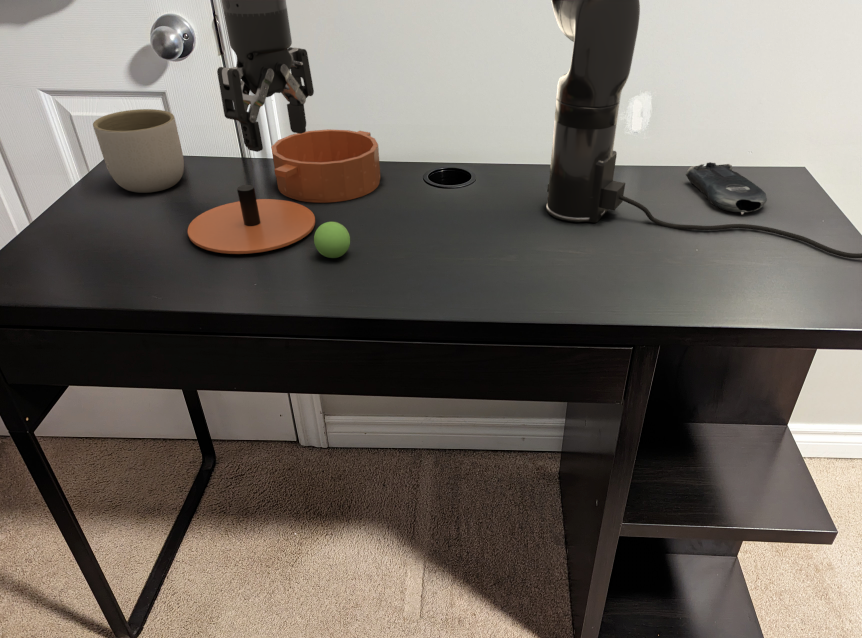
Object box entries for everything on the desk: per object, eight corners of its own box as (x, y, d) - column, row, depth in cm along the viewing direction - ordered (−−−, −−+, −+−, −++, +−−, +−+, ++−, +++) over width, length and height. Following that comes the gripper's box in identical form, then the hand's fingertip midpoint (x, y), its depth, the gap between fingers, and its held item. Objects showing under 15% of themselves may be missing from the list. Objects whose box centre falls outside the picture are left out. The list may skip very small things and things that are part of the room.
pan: (407, 171, 124) (405, 135, 120) (328, 216, 108) (323, 176, 104) (330, 155, 130) (326, 120, 127) (245, 195, 114) (237, 156, 110)
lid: (340, 220, 107) (336, 179, 103) (257, 269, 94) (248, 224, 90) (250, 197, 114) (243, 157, 110) (161, 239, 101) (149, 196, 97)
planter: (96, 191, 115) (74, 125, 109) (149, 167, 124) (132, 105, 118) (154, 203, 111) (135, 135, 105) (204, 177, 121) (190, 114, 114)
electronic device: (677, 191, 120) (722, 214, 108) (685, 159, 118) (733, 178, 105) (724, 195, 123) (773, 217, 110) (733, 163, 120) (785, 182, 107)
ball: (358, 253, 98) (355, 220, 95) (337, 267, 94) (333, 233, 91) (330, 245, 100) (327, 213, 97) (309, 259, 96) (304, 226, 93)
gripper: (234, 17, 76) (261, 162, 86) (317, -1, 86) (333, 130, 95) (187, 12, 79) (218, 152, 89) (272, -5, 89) (292, 123, 98)
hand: (277, 141), depth 92 cm, fingers open, 8 cm apart
